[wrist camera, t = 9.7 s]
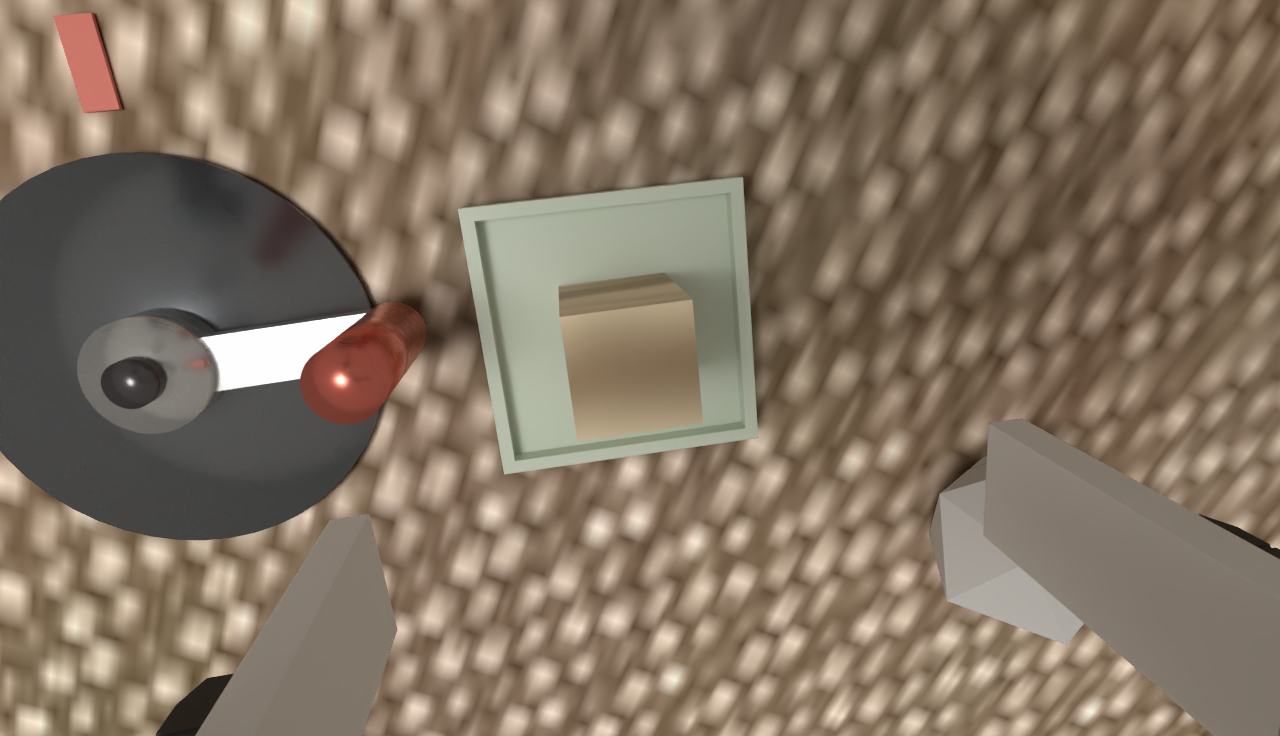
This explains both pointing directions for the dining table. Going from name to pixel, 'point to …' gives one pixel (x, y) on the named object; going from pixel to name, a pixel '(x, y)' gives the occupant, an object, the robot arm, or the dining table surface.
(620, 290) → the block
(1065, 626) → the die
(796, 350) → the dining table surface
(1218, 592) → the robot arm
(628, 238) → the tray
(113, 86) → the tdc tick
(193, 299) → the base plate
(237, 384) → the crank
